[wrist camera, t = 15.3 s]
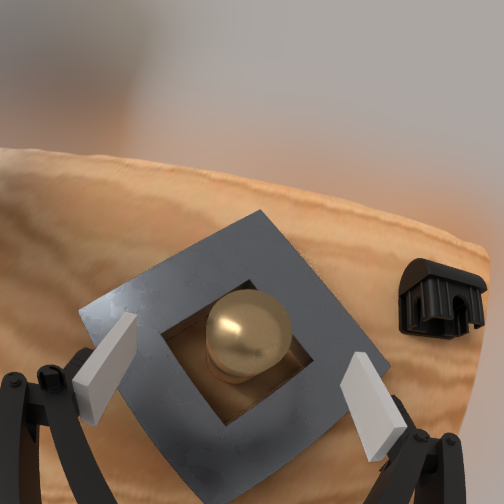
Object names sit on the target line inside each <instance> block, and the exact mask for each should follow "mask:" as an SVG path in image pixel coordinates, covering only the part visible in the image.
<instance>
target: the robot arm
mask: <svg viewBox="0 0 504 504" xmlns="http://www.w3.org/2000/svg"><path fill="white" fill-rule="evenodd" d="M136 353H137V314H133V313H129V312H126V311H125V313H124V314H123V315H122V316H121V318H120V319H119V320H118V321H117V323H116V324H115V325H114V326H113V327H112V329H111V330H110V331H109V333H108V334H107V335H106V336H105V338H104V339H103V340H102V341H101V343H100V344H99V345H98V347H97V348H96V349H95V350H92V349H89V348H86V347H85V348H83V349H81V350H80V351H78V352H77V353H76V354H75V355H74V357H73V358H72V359H71V360H70V361H69V363H68V364H67V365H66V366H65V368H64V369H62V368H60V367H59V366H56V365H45V366H43V367H41V368H40V369H39V370H38V372H37V378H38V382H39V384H35V383H29V382H27V380H26V378H25V376H24V375H23V374H21V373H18V372H11V373H8V374H6V375H5V376H4V378H3V379H2V383H1V387H0V504H42V501H41V490H40V474H39V426H40V425H44V426H49V427H50V430H51V433H52V437H53V440H54V443H55V447H56V450H57V453H58V456H59V459H60V461H61V464H62V467H63V470H64V472H65V475H66V478H67V480H68V483H69V485H70V488H71V490H72V492H73V495H74V497H75V499H76V501H77V503H78V504H118V503H117V501H116V500H115V498H114V496H113V494H112V492H111V491H110V489H109V487H108V485H107V483H106V481H105V479H104V477H103V475H102V473H101V471H100V469H99V467H98V465H97V463H96V461H95V458H94V456H93V454H92V452H91V449H90V447H89V445H88V442H87V440H86V438H85V435H84V433H83V430H82V427H81V425H80V422H79V420H78V416H79V415H80V418H81V421H82V422H83V423H86V424H88V425H91V426H94V427H96V426H97V424H98V422H99V420H100V418H101V417H102V415H103V413H104V411H105V409H106V407H107V405H108V403H109V401H110V400H111V398H112V396H113V394H114V392H115V390H116V388H117V387H118V385H119V383H120V381H121V379H122V378H123V376H124V374H125V372H126V370H127V369H128V367H129V365H130V363H131V361H132V360H133V358H134V356H135V354H136ZM340 387H341V389H342V392H343V394H344V397H345V400H346V402H347V405H348V407H349V410H350V413H351V415H352V418H353V421H354V423H355V426H356V429H357V431H358V434H359V437H360V439H361V442H362V445H363V448H364V450H365V453H366V456H367V459H368V461H369V462H375V461H381V460H382V459H383V458H384V457H385V456H386V454H387V455H388V458H389V460H388V461H387V462H386V463H385V464H384V466H383V467H382V468H381V469H380V470H379V471H380V472H381V473H380V475H379V477H378V479H377V481H376V482H375V484H374V486H373V488H372V490H371V491H370V493H369V495H368V496H367V498H366V500H365V501H364V503H363V504H409V501H410V499H411V497H412V494H413V492H414V489H415V496H414V504H466V487H465V474H464V464H463V454H462V447H461V441H460V439H459V438H458V436H456V435H455V434H453V433H445V434H444V435H443V436H442V437H441V439H437V438H430V436H429V434H428V433H427V432H426V431H424V430H422V429H417V428H416V427H415V425H414V423H413V421H412V420H411V418H410V416H409V414H408V413H407V411H406V409H405V408H404V406H403V404H402V402H401V401H400V400H399V399H398V398H397V397H396V396H395V395H390V394H389V392H388V391H387V389H386V387H385V385H384V383H383V382H382V380H381V378H380V376H379V375H378V373H377V371H376V370H375V368H374V366H373V364H372V363H371V361H370V359H369V358H368V356H367V354H366V353H365V352H355V353H354V355H353V357H352V360H351V362H350V364H349V366H348V369H347V371H346V373H345V375H344V377H343V380H342V382H341V384H340Z"/></svg>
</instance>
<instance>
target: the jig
mask: <svg viewBox="0 0 504 504" xmlns="http://www.w3.org/2000/svg"><path fill="white" fill-rule="evenodd" d="M245 289H251V290H257V291H261V292H264V293H266V294H268V295H270V296H272V297H273V298H275V299H276V300H277V301H278V302H280V304H281V305H282V306H283V307H284V308H285V310H286V311H287V313H288V315H289V318H290V320H291V325H292V340H291V344H290V347H289V349H290V350H291V351H292V352H293V354H294V355H295V356H296V357H297V359H298V360H299V361H300V362H301V364H302V365H303V366H302V367H301V368H299V369H298V370H297V371H296V372H294V373H293V374H292V375H291V376H289V377H288V378H287V379H285V380H284V381H283V382H282V383H280V384H279V385H278V386H276V387H275V388H274V389H272V390H271V391H270V392H268V393H267V394H266V395H264V396H263V397H262V398H260V399H259V400H258V401H256V402H255V403H253V404H252V405H251V406H249V407H248V408H246V409H245V410H243V411H242V412H241V413H239V414H238V415H236V416H235V417H233V418H232V419H230V420H229V421H227V422H226V423H224V424H223V422H222V421H221V420H220V419H219V417H218V416H217V415H216V413H215V412H214V411H213V410H212V408H211V407H210V406H209V404H208V403H207V402H206V400H205V399H204V398H203V396H202V395H201V394H200V392H199V391H198V389H197V388H196V387H195V385H194V384H193V382H192V381H191V380H190V378H189V377H188V375H187V374H186V372H185V371H184V369H183V368H182V367H181V365H180V364H179V362H178V361H177V359H176V358H175V356H174V355H173V353H172V352H171V350H170V348H169V347H168V345H167V344H166V342H165V341H167V340H168V339H170V338H172V337H173V336H175V335H176V334H178V333H180V332H181V331H183V330H185V329H186V328H188V327H189V326H191V325H193V324H194V323H196V322H198V321H199V320H201V319H202V318H204V317H206V316H207V315H209V314H210V312H211V310H212V308H213V307H214V305H215V304H216V303H217V302H218V301H219V300H220V299H221V298H223V297H224V296H225V295H227V294H229V293H232V292H234V291H238V290H245ZM125 311H126V312H129V313H133V314H137V353H136V354H135V356H134V358H133V360H132V361H131V363H130V365H129V367H128V369H127V370H126V372H125V374H124V376H123V378H122V379H121V381H120V383H119V385H118V387H117V388H118V390H119V392H120V393H121V395H122V397H123V398H124V400H125V401H126V403H127V405H128V406H129V408H130V409H131V411H132V412H133V414H134V416H135V417H136V419H137V420H138V422H139V423H140V424H141V426H142V427H143V429H144V430H145V432H146V433H147V435H148V436H149V437H150V439H151V440H152V441H153V443H154V444H155V446H156V447H157V448H158V450H159V451H160V452H161V454H162V455H163V456H164V457H165V459H166V460H167V461H168V462H169V464H170V465H171V466H172V467H173V469H174V470H175V471H176V472H177V474H178V475H179V476H180V477H181V478H182V479H183V481H184V482H185V483H186V484H187V485H188V486H189V488H190V489H191V490H192V491H193V492H194V493H195V494H196V495H197V496H198V497H199V498H200V500H201V501H202V502H203V503H204V504H227V503H228V502H230V501H232V500H233V499H235V498H237V497H238V496H240V495H241V494H243V493H245V492H246V491H248V490H249V489H251V488H252V487H254V486H255V485H257V484H258V483H260V482H261V481H263V480H264V479H266V478H267V477H269V476H270V475H272V474H273V473H274V472H276V471H277V470H279V469H280V468H281V467H283V466H284V465H285V464H287V463H288V462H289V461H291V460H292V459H293V458H295V457H296V456H297V455H298V454H300V453H301V452H302V451H303V450H305V449H306V448H307V447H308V446H310V445H311V444H312V443H313V442H314V441H316V440H317V439H318V438H319V437H320V436H321V435H323V434H324V433H325V432H326V431H327V430H328V429H329V428H331V427H332V426H333V425H334V424H335V423H336V422H337V421H338V420H339V419H340V418H341V417H343V416H344V415H345V414H346V413H347V412H348V411H349V407H348V405H347V402H346V400H345V397H344V394H343V392H342V389H341V387H340V384H341V382H342V380H343V377H344V375H345V373H346V371H347V369H348V366H349V364H350V362H351V360H352V357H353V355H354V353H355V352H365V353H366V354H367V356H368V358H369V359H370V361H371V363H372V364H373V366H374V368H375V370H376V371H377V373H378V375H379V376H380V378H381V377H382V376H383V375H384V374H385V372H386V371H387V370H388V369H389V368H390V367H391V366H390V364H389V363H388V362H387V361H386V359H385V358H384V357H383V355H382V354H381V353H380V352H379V350H378V349H377V348H376V347H375V345H374V344H373V343H372V342H371V340H370V339H369V338H368V337H367V335H366V334H365V333H364V332H363V330H362V329H361V328H360V327H359V325H358V324H357V323H356V322H355V320H354V319H353V318H352V317H351V315H350V314H349V313H348V312H347V311H346V309H345V308H344V307H343V306H342V304H341V303H340V302H339V301H338V300H337V298H336V297H335V296H334V295H333V294H332V292H331V291H330V290H329V289H328V287H327V286H326V285H325V284H324V283H323V281H322V280H321V279H320V278H319V277H318V276H317V274H316V273H315V272H314V271H313V270H312V268H311V267H310V266H309V265H308V264H307V263H306V261H305V260H304V259H303V258H302V257H301V255H300V254H299V253H298V252H297V251H296V250H295V248H294V247H293V246H292V245H291V244H290V243H289V241H288V240H287V239H286V238H285V237H284V236H283V235H282V233H281V232H280V231H279V230H278V229H277V228H276V226H275V225H274V224H273V223H272V222H271V221H270V220H269V218H268V217H267V216H266V215H265V214H264V213H263V212H262V211H261V209H260V210H258V211H256V212H254V213H252V214H250V215H248V216H247V217H245V218H243V219H241V220H239V221H237V222H235V223H233V224H231V225H229V226H227V227H226V228H224V229H222V230H220V231H218V232H216V233H214V234H212V235H211V236H209V237H207V238H205V239H203V240H201V241H200V242H198V243H196V244H194V245H192V246H190V247H188V248H187V249H185V250H183V251H181V252H179V253H178V254H176V255H174V256H172V257H170V258H169V259H167V260H165V261H163V262H161V263H160V264H158V265H156V266H154V267H152V268H151V269H149V270H147V271H145V272H144V273H142V274H140V275H138V276H137V277H135V278H133V279H131V280H130V281H128V282H126V283H124V284H123V285H121V286H119V287H117V288H116V289H114V290H112V291H110V292H109V293H107V294H105V295H104V296H102V297H100V298H99V299H97V300H95V301H93V302H92V303H90V304H88V305H87V306H85V307H83V308H82V309H80V310H78V312H79V314H80V316H81V319H82V321H83V323H84V325H85V328H86V330H87V332H88V334H89V336H90V338H91V340H92V342H93V344H94V346H95V348H97V347H98V345H99V344H100V343H101V341H102V340H103V339H104V338H105V336H106V335H107V334H108V333H109V331H110V330H111V329H112V327H113V326H114V325H115V324H116V323H117V321H118V320H119V319H120V318H121V316H122V315H123V314H124V313H125Z"/></svg>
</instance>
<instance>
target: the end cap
mask: <svg viewBox="0 0 504 504" xmlns="http://www.w3.org/2000/svg"><path fill="white" fill-rule="evenodd" d="M485 291H487V286H486V283H485V281H484V280H483V279H482V278H481V277H480V276H478V275H476V274H472V273H469V272H466V271H463V270H460V269H456V268H453V267H450V266H446V265H443V264H440V263H436V262H433V261H430V260H426V259H423V258H417V259H414V260H413V261H411V262H410V263H409V265H408V266H407V267H406V269H405V271H404V272H403V275H402V277H401V281H400V285H399V299H398V306H399V331H400V332H401V333H403V334H410V335H418V336H426V337H434V338H442V339H453V338H455V337H459V336H463V335H465V334H467V333H469V327H468V323H471V324H474V329H478V328H480V327H482V326H484V325H485V322H484V313H483V305H482V298H481V294H482V293H484V292H485Z"/></svg>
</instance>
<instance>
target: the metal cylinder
mask: <svg viewBox="0 0 504 504" xmlns="http://www.w3.org/2000/svg"><path fill="white" fill-rule="evenodd" d="M291 340H292V325H291V320H290V318H289V315H288V313H287V311H286V310H285V308H284V307H283V306H282V305H281V304H280V302H278V301H277V300H276V299H275V298H273V297H272V296H270V295H268V294H266V293H264V292H261V291H257V290H251V289H245V290H238V291H234V292H232V293H229V294H227V295H225V296H224V297H223V298H221V299H220V300H219V301H218V302H217V303H216V304H215V305H214V307H213V308H212V310H211V312H210V314H209V316H208V320H207V326H206V360H207V364H208V367H209V369H210V370H211V372H212V373H213V374H214V375H215V376H216V377H217V378H218V379H220V380H222V381H224V382H227V383H233V384H237V383H243V382H245V381H248V380H250V379H251V378H253V377H255V376H257V375H258V374H260V373H262V372H264V371H265V370H267V369H269V368H271V367H272V366H274V365H275V364H277V363H278V362H279V361H280V360H281V359H282V358H283V357H284V356H285V354H286V353H287V351H288V349H289V347H290V344H291Z"/></svg>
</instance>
